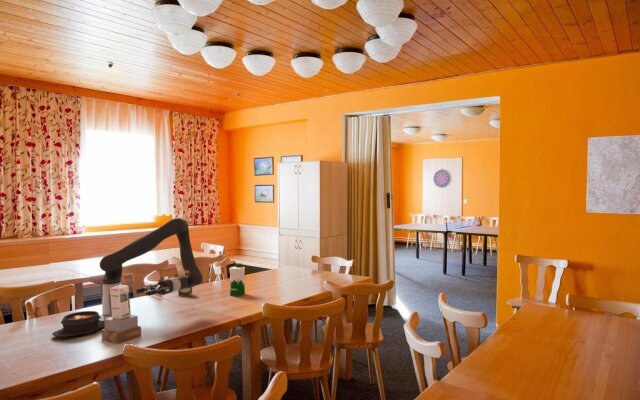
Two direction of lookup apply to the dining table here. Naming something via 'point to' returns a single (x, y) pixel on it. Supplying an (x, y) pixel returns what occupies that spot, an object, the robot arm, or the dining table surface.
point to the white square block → (121, 323)
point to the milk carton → (237, 280)
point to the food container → (185, 292)
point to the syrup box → (120, 301)
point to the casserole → (80, 324)
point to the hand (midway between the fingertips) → (142, 292)
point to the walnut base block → (121, 335)
